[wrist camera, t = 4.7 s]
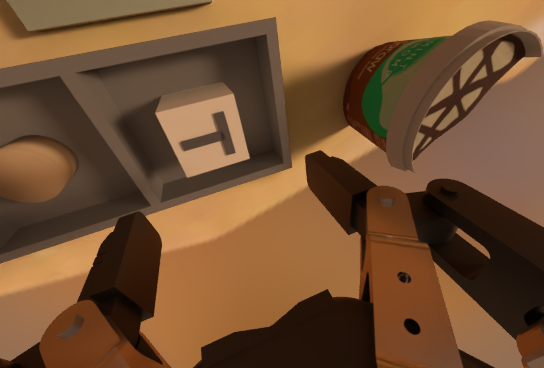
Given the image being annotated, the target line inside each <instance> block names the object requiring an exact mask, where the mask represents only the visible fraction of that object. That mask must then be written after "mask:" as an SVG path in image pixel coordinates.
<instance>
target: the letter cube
mask: <svg viewBox="0 0 544 368" xmlns="http://www.w3.org/2000/svg"><path fill="white" fill-rule="evenodd" d="M155 114H156V116H157V118H158V120H159V122H160V124H161V126H162V128H163V130H164V132H165V134H166V136H167V138H168V140H169V142H170V144H171V146H172V148H173V150H174V152H175V154H176V156H177V158H178V160H179V162H180V164H181V166H182V168H183V170H184V172H185V174H186V176H187V178H189V177H192V176H195V175H198V174H201V173H205V172H208V171H211V170H214V169H218V168H221V167H224V166H227V165H231V164H234V163H237V162H240V161H244V160H247V159H250V157H249V153H248V149H247V145H246V141H245V137H244V133H243V129H242V125H241V121H240V117H239V113H238V109H237V105H236V101H235V97H234V94H233V92H232V91H231V90H230V89H229V88H228V87H227V86H226V85H225V84H224V82H223V81H222V82H218V83H214V84H210V85H205V86H201V87H197V88H193V89H188V90H184V91H180V92H176V93H171V94H167V95H163V96H161V99H160V102H159V104H158V107H157V109H156V112H155Z"/></svg>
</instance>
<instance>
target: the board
mask: <svg viewBox="0 0 544 368" xmlns="http://www.w3.org/2000/svg"><path fill="white" fill-rule="evenodd" d="M7 2H8V3H9V5H10V6H11V8H12V9H13V10H14V12H15V13H16V15H17V16H18V17H19V19H20V20H21V22H22V23H23V25H24V26H25V27H26V29H27V30H28V31H34V32H39V31H45V30H51V29H57V28H63V27H69V26H75V25H81V24H87V23H93V22H99V21H105V20H111V19H117V18H123V17H130V16H136V15H142V14H148V13H154V12H160V11H166V10H172V9H178V8H184V7H190V6H196V5H202V4H208V3H211V2H212V0H7Z"/></svg>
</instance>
